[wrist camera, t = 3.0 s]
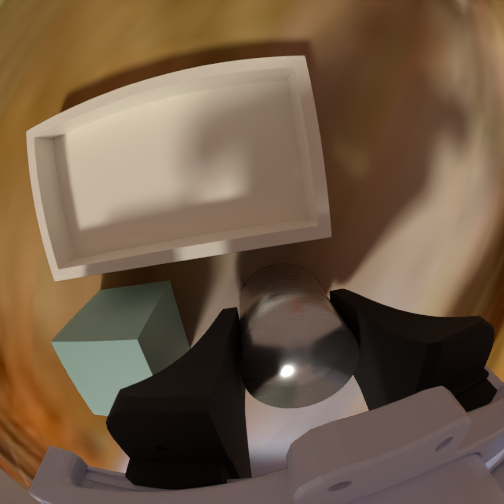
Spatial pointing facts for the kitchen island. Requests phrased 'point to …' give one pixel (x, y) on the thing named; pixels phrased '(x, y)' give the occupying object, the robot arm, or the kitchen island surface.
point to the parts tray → (181, 169)
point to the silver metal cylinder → (292, 339)
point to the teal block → (121, 341)
